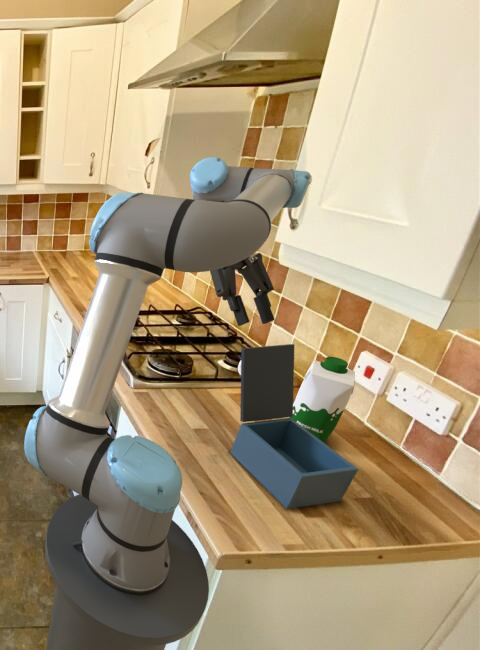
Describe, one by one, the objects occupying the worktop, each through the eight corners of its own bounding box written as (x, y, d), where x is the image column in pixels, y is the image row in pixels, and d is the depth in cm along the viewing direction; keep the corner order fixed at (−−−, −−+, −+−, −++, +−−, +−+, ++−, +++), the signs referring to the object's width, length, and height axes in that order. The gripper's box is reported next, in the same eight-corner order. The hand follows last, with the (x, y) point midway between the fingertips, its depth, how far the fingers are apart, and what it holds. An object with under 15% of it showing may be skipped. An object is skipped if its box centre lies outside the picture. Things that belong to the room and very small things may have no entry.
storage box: (340, 501, 84) (358, 469, 80) (286, 509, 82) (302, 476, 78) (277, 447, 98) (290, 417, 94) (230, 453, 96) (241, 423, 92)
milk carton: (328, 431, 102) (362, 363, 94) (326, 451, 96) (362, 380, 88) (286, 417, 108) (314, 350, 99) (281, 434, 101) (310, 365, 93)
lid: (294, 344, 92) (291, 344, 92) (244, 348, 90) (241, 348, 91) (292, 416, 93) (289, 415, 94) (243, 422, 91) (240, 421, 92)
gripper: (247, 240, 106) (278, 325, 99) (181, 243, 103) (208, 330, 96) (270, 224, 99) (306, 314, 92) (200, 227, 96) (231, 320, 89)
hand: (256, 322), depth 94 cm, fingers open, 6 cm apart
